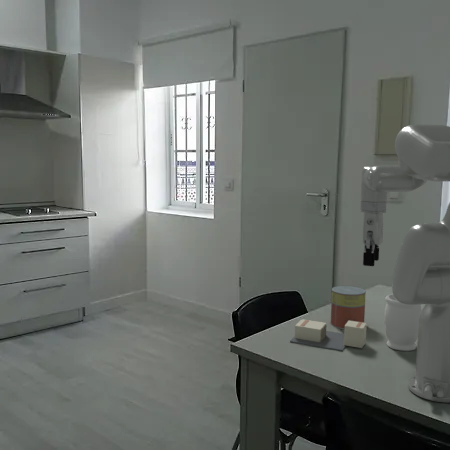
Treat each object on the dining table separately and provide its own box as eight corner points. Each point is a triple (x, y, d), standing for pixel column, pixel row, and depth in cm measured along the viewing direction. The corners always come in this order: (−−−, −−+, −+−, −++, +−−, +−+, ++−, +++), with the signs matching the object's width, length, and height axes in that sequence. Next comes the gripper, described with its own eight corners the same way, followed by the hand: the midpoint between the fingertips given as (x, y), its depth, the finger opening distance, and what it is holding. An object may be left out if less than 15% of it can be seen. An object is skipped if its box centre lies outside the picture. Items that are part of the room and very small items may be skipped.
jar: (396, 354, 143) (398, 304, 141) (376, 341, 153) (378, 294, 151) (427, 350, 146) (430, 301, 144) (406, 338, 156) (408, 292, 154)
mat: (342, 351, 145) (342, 349, 145) (290, 342, 152) (290, 340, 152) (352, 336, 158) (352, 334, 158) (303, 328, 165) (303, 327, 165)
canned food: (367, 322, 172) (369, 288, 170) (360, 331, 162) (361, 296, 160) (335, 317, 177) (336, 284, 175) (326, 326, 167) (327, 291, 165)
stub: (362, 348, 146) (363, 328, 146) (343, 345, 149) (344, 325, 148) (365, 342, 151) (366, 322, 150) (347, 339, 154) (348, 320, 153)
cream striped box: (320, 342, 151) (321, 329, 150) (294, 338, 155) (295, 325, 154) (326, 335, 157) (327, 322, 157) (301, 331, 161) (301, 318, 160)
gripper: (382, 210, 141) (380, 269, 143) (389, 205, 157) (387, 259, 159) (355, 209, 144) (353, 267, 146) (365, 204, 160) (363, 257, 162)
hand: (371, 262), depth 153 cm, fingers open, 9 cm apart
